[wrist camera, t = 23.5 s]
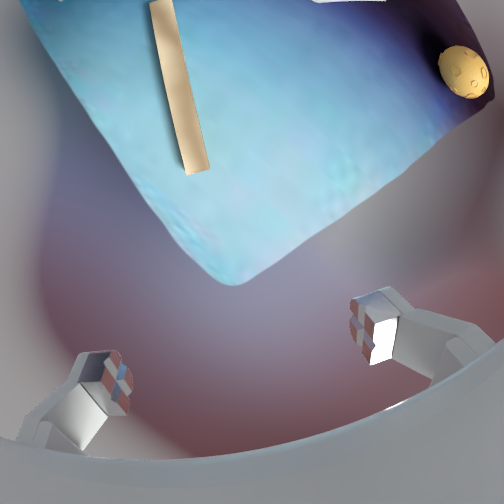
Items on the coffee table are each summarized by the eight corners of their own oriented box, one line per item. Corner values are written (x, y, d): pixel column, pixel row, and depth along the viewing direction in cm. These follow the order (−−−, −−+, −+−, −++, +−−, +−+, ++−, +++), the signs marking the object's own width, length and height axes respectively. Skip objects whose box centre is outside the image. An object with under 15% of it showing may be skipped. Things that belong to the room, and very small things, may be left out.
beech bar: (209, 169, 34) (209, 166, 36) (171, -4, 23) (173, 5, 26) (186, 175, 33) (188, 172, 36) (149, 2, 23) (153, 11, 26)
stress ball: (439, 41, 30) (475, 33, 21) (466, 79, 34) (503, 79, 25) (421, 67, 33) (461, 60, 24) (451, 108, 36) (490, 109, 27)
